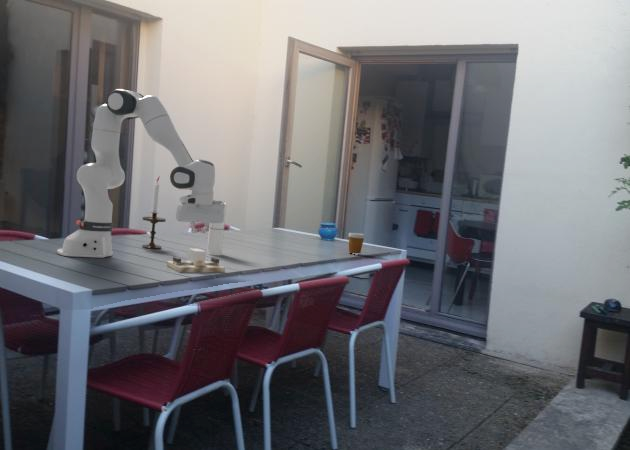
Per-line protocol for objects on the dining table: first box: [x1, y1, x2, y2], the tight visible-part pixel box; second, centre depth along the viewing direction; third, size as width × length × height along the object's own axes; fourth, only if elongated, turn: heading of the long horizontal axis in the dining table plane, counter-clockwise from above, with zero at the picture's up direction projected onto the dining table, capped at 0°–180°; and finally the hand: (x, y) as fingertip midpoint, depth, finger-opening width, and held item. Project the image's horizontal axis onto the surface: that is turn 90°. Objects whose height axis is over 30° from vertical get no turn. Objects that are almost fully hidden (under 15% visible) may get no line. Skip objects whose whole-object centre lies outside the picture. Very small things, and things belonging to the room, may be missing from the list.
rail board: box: [166, 256, 226, 273], centre depth 272 cm, size 20×14×5 cm
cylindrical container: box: [206, 202, 227, 256], centre depth 317 cm, size 7×7×25 cm
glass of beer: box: [348, 232, 366, 254], centre depth 373 cm, size 10×10×12 cm
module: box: [187, 248, 207, 266], centre depth 272 cm, size 4×8×6 cm, turn 34°
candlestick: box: [141, 175, 167, 250], centre depth 314 cm, size 11×11×35 cm
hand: (198, 233), depth 271 cm, fingers open, 3 cm apart
